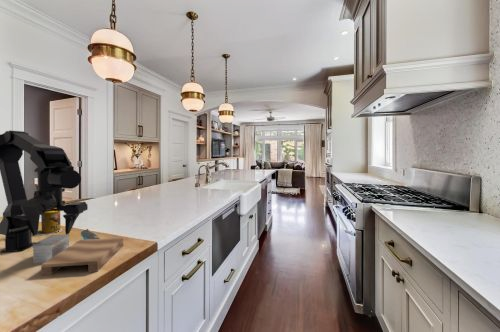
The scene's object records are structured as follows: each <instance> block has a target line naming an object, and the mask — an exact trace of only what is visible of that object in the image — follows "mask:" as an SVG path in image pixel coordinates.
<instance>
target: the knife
mask: <svg viewBox="0 0 500 332" xmlns="http://www.w3.org/2000/svg"><path fill="white" fill-rule="evenodd" d="M80 232H81V234H80V236H81V237H83V238H82V240H87V239H101V238H99V236H97V235H96V233H94V232H92V231H90V230H89V228H87V229H84V230H81V231H80Z"/></svg>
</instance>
